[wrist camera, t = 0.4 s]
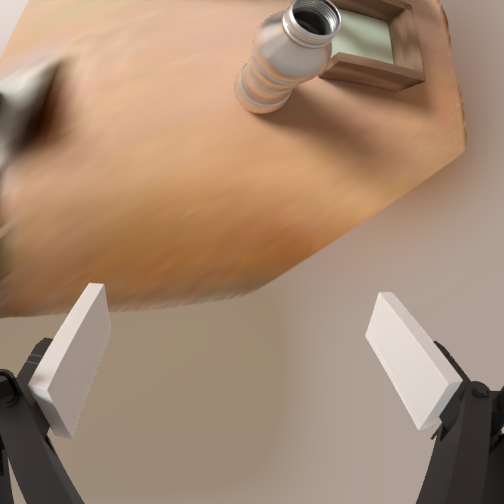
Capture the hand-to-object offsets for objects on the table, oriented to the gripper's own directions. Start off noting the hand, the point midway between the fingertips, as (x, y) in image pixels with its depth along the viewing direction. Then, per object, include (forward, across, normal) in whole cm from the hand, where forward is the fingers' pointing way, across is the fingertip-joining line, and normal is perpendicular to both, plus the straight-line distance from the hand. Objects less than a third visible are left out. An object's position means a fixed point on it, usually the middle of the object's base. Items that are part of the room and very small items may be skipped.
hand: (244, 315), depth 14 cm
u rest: (+30, +16, +22) cm, 41 cm away
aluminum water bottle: (+28, +3, +12) cm, 30 cm away
